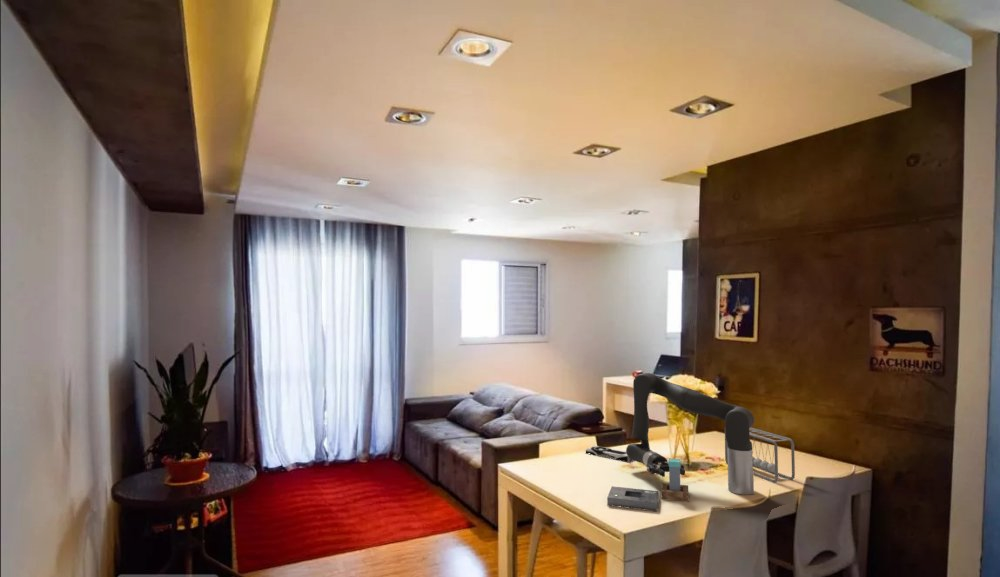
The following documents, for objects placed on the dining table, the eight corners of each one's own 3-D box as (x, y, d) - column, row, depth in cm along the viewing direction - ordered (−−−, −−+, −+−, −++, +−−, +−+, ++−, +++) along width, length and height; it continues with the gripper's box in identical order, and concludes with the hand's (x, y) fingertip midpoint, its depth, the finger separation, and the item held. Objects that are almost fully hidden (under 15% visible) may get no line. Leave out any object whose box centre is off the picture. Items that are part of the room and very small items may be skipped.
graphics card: (629, 456, 257) (584, 447, 273) (629, 463, 257) (584, 454, 273) (639, 452, 264) (595, 443, 281) (639, 459, 264) (595, 450, 281)
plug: (680, 494, 214) (680, 459, 214) (680, 498, 209) (680, 462, 210) (669, 493, 215) (668, 458, 215) (669, 497, 211) (668, 461, 211)
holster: (688, 492, 215) (688, 485, 215) (688, 501, 206) (688, 493, 206) (662, 490, 219) (662, 482, 219) (661, 498, 209) (661, 491, 209)
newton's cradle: (724, 464, 254) (724, 426, 254) (742, 461, 257) (741, 424, 258) (776, 484, 225) (775, 441, 226) (795, 481, 229) (794, 439, 229)
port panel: (658, 498, 209) (658, 490, 209) (656, 511, 197) (656, 502, 197) (611, 493, 215) (611, 485, 215) (607, 505, 203) (607, 496, 203)
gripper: (639, 454, 228) (657, 465, 212) (670, 452, 230) (690, 463, 214) (639, 471, 228) (657, 484, 212) (670, 469, 230) (690, 482, 214)
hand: (674, 473), depth 213 cm, fingers open, 8 cm apart
